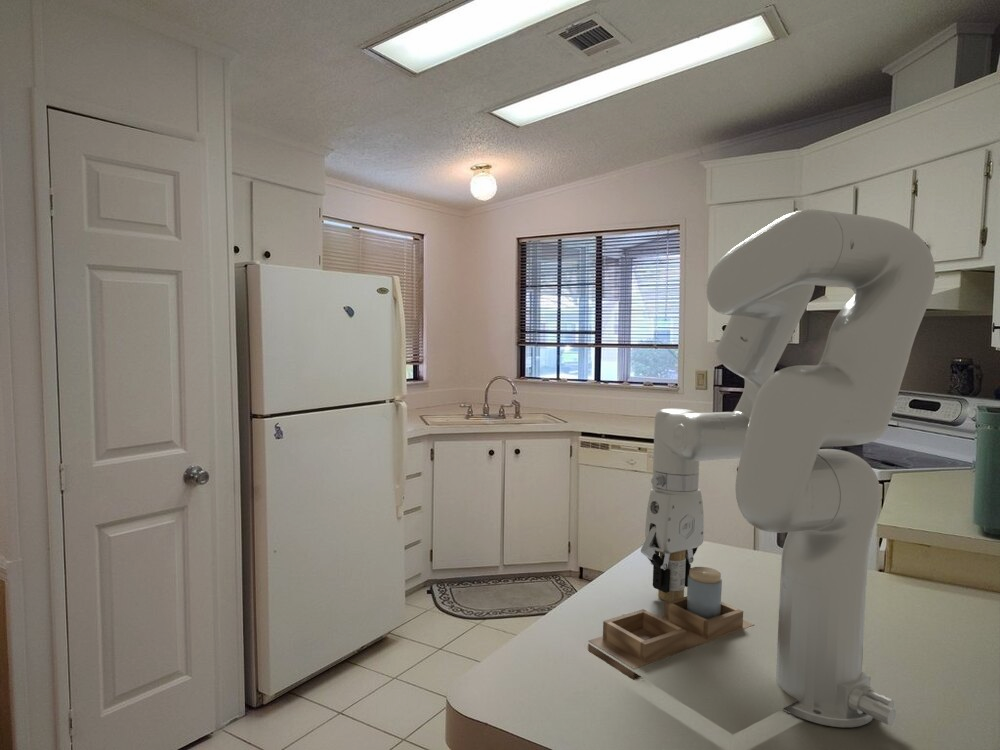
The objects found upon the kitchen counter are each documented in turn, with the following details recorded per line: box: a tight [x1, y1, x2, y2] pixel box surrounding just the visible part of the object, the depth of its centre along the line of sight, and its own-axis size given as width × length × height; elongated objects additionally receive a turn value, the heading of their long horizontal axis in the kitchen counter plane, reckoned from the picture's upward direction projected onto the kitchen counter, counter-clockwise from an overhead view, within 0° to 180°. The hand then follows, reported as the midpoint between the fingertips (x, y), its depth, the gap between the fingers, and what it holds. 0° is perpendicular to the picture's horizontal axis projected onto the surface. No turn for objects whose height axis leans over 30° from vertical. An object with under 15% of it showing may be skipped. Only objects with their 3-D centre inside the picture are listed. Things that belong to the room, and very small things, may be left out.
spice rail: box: [587, 595, 755, 681], centre depth 91 cm, size 9×26×4 cm, turn 123°
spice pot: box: [686, 566, 723, 620], centre depth 95 cm, size 5×5×8 cm
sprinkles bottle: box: [657, 550, 686, 602], centre depth 104 cm, size 5×5×13 cm
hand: (671, 585), depth 105 cm, fingers closed on sprinkles bottle, 4 cm apart
